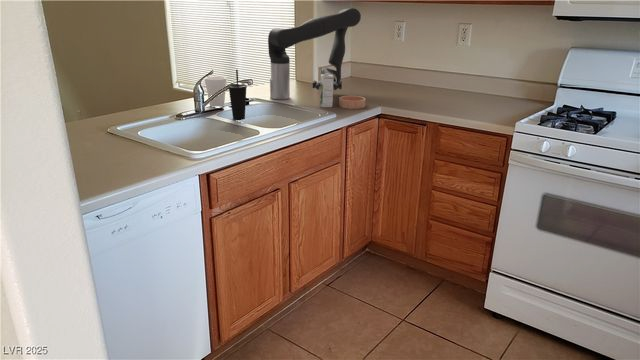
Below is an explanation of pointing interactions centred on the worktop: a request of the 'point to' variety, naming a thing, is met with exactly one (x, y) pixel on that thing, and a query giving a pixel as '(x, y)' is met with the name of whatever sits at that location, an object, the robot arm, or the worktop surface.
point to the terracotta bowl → (352, 102)
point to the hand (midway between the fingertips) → (326, 87)
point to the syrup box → (326, 90)
